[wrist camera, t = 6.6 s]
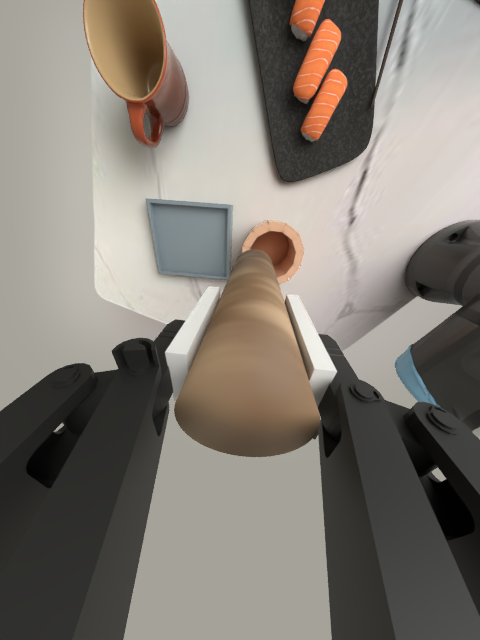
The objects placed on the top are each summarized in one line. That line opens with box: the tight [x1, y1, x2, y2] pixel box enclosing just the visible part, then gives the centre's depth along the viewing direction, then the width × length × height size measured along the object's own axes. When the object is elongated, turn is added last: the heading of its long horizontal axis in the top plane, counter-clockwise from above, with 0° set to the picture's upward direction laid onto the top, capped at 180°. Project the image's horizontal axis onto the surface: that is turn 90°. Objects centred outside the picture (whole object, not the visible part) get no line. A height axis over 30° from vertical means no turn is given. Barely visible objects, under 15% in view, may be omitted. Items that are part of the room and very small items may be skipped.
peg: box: [174, 249, 320, 457], centre depth 13 cm, size 4×4×18 cm
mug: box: [83, 0, 189, 148], centre depth 24 cm, size 12×9×10 cm
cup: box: [242, 220, 304, 284], centre depth 33 cm, size 10×10×9 cm
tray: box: [146, 199, 233, 280], centre depth 37 cm, size 16×14×2 cm
